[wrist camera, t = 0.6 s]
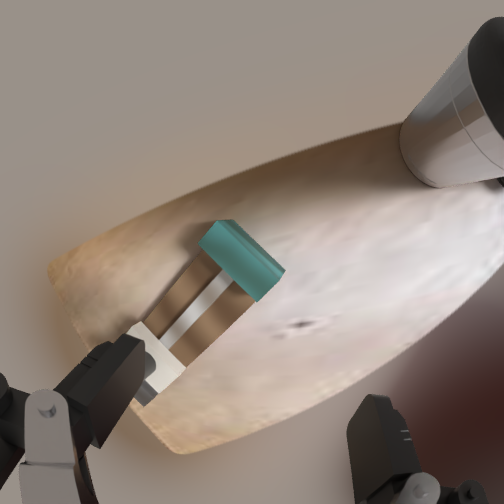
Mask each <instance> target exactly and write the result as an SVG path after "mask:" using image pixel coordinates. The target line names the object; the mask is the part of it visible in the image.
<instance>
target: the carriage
mask: <svg viewBox="0 0 504 504" xmlns="http://www.w3.org/2000/svg"><path fill="white" fill-rule="evenodd" d="M127 334H128V335H131V336H133V337H136V338H139V339H141V340H144V341H145V375H144V379H143V381H144V380H146V381H147V382H148V383H149V385H150V386H152V387H153V388H154V389H155V390H156V391H157V392H158V393H160V392H162V391H163V390H164V389H165V388H166V387H167V386H168V385H169V384H171V383H172V382H173V381H174V380H175V379H176V378H177V377H178V376H179V375H180V374H181V373H182V372H183V371H184V370H185V369H186V367H185V366H184V365H183V364H182V363H181V362H180V361H179V360H178V359H177V358H176V357H175V356H174V355H173V354H172V353H171V352H170V351H169V350H168V349H167V348H166V347H165V346H164V345H163V344H162V343H161V342H160V341H159V340H158V339H157V338H156V337H155V336H154V335H153V334H152V332H151V331H150V330H149V329H148V328H147V327H146V326H145V325H144V324H143V323H142V322H141V321H140V322H139V323H137V324H135V325H133V326H132V327H131V328H130V330H129V331H128V332H127Z"/></svg>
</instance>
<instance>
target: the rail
mask: <svg viewBox="0 0 504 504" xmlns="http://www.w3.org/2000/svg"><path fill="white" fill-rule="evenodd" d="M198 245H199V246H200V247H201V248H202V249H203V250H202V251H201V253H200V254H199V255H198V256H197V257H196V258H195V260H194V261H193V262H192V263H191V264H190V266H189V267H188V268H187V269H186V270H185V272H184V273H183V274H182V275H181V276H180V278H179V279H178V280H177V281H176V283H175V284H174V285H173V286H172V287H171V289H170V290H169V291H168V292H167V294H166V295H165V296H164V297H163V299H162V300H161V301H160V302H159V303H158V305H157V306H156V307H155V308H154V310H153V311H152V312H151V313H150V315H149V316H148V317H147V319H146V320H145V321H144V322H143V324H144V325H145V326H146V327H147V328H148V329H149V330H150V331H151V332H152V334H153V335H154V336H155V337H156V338H157V339H158V340H159V341H160V342H161V343H162V344H163V345H164V346H165V347H166V348H167V349H168V350H169V351H170V352H171V353H172V354H173V355H174V356H175V357H176V358H177V359H178V360H179V361H180V362H181V363H182V364H183V365H184V366H185V367H187V366H188V365H189V364H190V363H191V362H193V361H194V360H195V359H196V358H197V357H198V356H199V355H200V354H201V353H202V352H203V351H204V350H205V349H207V348H208V347H209V346H210V345H211V344H212V343H213V342H214V341H215V340H216V339H217V338H218V337H219V336H220V335H221V334H222V333H223V332H225V331H226V330H227V329H228V328H229V327H230V326H231V325H232V324H233V323H234V322H235V321H236V320H237V319H238V318H239V317H240V316H241V315H242V314H243V313H244V312H245V311H246V310H247V309H248V308H249V307H250V306H251V305H252V304H253V303H254V302H255V301H256V302H258V301H259V300H260V299H261V298H262V297H263V296H264V295H265V294H266V293H267V292H268V291H269V290H270V289H271V288H272V287H273V286H274V285H275V284H276V283H277V282H278V281H279V280H280V278H281V277H282V275H283V274H284V272H285V271H286V270H285V269H284V268H282V267H281V266H280V265H279V264H278V263H277V262H276V261H275V260H274V259H273V258H272V257H271V256H270V255H269V254H268V253H267V252H266V251H265V250H264V249H263V248H262V247H261V246H260V245H259V244H258V243H257V242H256V241H255V240H254V239H253V238H251V237H250V236H249V235H248V234H247V233H246V232H245V231H244V230H243V229H242V228H241V227H240V226H239V225H238V224H237V223H236V222H235V221H234V220H218V221H216V222H215V223H214V225H213V226H212V227H211V228H210V229H209V230H208V232H207V233H206V234H205V235H204V236H203V238H202V239H201V240H200V241H199V242H198ZM157 394H158V392H157V391H156V390H155V389H154V388H153V387H152V386H150V385H149V383H148V382H147V381H146V380H144V381H143V382H142V385H141V387H140V388H139V390H138V391H137V393H136V394H135V396H134V398H135V399H136V400H137V401H138V402H139V403H140V404H141V405H142V406H146V405H147V404H148V403H149V402H150V401H151V400H152V399H154V398H155V397H156V395H157Z"/></svg>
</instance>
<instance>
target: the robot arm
mask: <svg viewBox="0 0 504 504" xmlns="http://www.w3.org/2000/svg"><path fill="white" fill-rule="evenodd" d="M399 143H400V150H401V153H402V156H403V159H404V161H405V163H406V164H407V166H408V168H409V169H410V170H411V172H412V173H413V174H414V175H415V176H416V177H417V178H418V179H419V180H420V181H422V182H424V183H425V184H427V185H430V186H433V187H437V188H446V187H452V186H457V185H462V184H467V183H472V182H477V181H483V180H488V179H493V178H498V177H503V176H504V17H495V18H492V19H490V20H488V21H487V22H485V23H484V24H483V25H482V26H481V27H480V29H479V30H478V31H477V33H476V34H475V35H474V36H473V38H472V39H471V40H470V41H469V43H468V44H467V45H466V46H465V48H464V49H463V50H462V51H461V53H460V54H459V55H458V56H457V58H456V59H455V61H454V62H453V63H452V64H451V65H450V67H449V68H448V69H447V70H446V72H445V73H444V74H443V75H442V77H441V78H440V79H439V80H438V81H437V82H436V84H435V85H434V86H433V87H432V89H431V90H430V91H429V92H428V93H427V95H426V96H425V97H424V98H423V99H422V101H421V102H420V103H419V104H418V105H417V106H416V107H415V109H414V110H413V111H412V112H411V113H410V115H409V116H408V117H407V118H406V119H405V121H404V123H403V124H402V126H401V130H400V136H399ZM144 375H145V341H144V340H141V339H139V338H136V337H133V336H131V335H128V334H126V333H124V334H122V335H121V336H120V337H119V338H118V339H117V341H116V342H115V343H114V344H113V343H111V342H109V341H107V342H105V343H103V344H100V345H98V346H96V347H95V348H94V349H93V350H92V351H91V352H90V353H89V354H88V355H87V357H85V358H84V359H83V360H82V361H81V363H80V364H78V365H77V366H76V367H75V368H74V369H73V370H72V371H71V372H70V373H69V374H68V375H67V376H66V377H65V379H63V380H62V381H61V382H60V383H59V385H58V386H57V387H56V388H54V389H53V390H48V389H43V390H38V391H35V392H33V393H32V394H28V393H25V392H23V391H19V390H17V389H14V388H11V387H9V385H8V383H7V380H6V378H5V377H4V376H3V374H2V373H0V490H1V488H2V486H3V485H4V483H5V482H6V480H7V479H8V477H9V475H10V474H11V472H12V471H13V470H14V468H15V467H16V465H17V463H18V462H19V461H20V459H21V458H22V456H23V455H24V453H25V462H24V463H20V465H19V480H20V489H21V496H22V503H23V504H99V502H98V500H97V497H96V494H95V490H94V487H93V483H92V479H91V475H90V471H89V467H88V462H87V457H86V453H85V451H86V450H87V448H88V447H89V445H90V444H91V445H93V446H95V447H97V448H99V449H101V447H102V445H103V444H104V442H105V441H106V439H107V438H108V436H109V434H110V433H111V431H112V429H113V428H114V427H115V425H116V424H117V422H118V420H119V419H120V417H121V416H122V414H123V413H124V411H125V410H126V408H127V407H128V405H129V403H130V402H131V400H132V399H133V397H134V396H135V394H136V393H137V391H138V390H139V388H140V387H141V385H142V382H143V379H144ZM347 442H348V449H349V456H350V464H351V472H352V480H353V489H354V498H355V504H489V503H488V500H487V497H486V493H485V491H484V488H483V486H482V485H481V484H480V483H479V482H477V481H475V480H466V481H464V482H463V483H462V484H461V485H459V486H458V487H457V488H451V487H443V486H440V485H439V483H438V482H437V480H436V479H435V478H434V477H433V476H431V475H430V474H427V473H423V472H422V470H421V466H420V463H419V460H418V457H417V454H416V451H415V447H414V445H413V442H412V441H411V436H410V433H409V432H408V427H407V424H406V422H405V419H404V418H403V417H402V416H401V414H400V413H399V412H398V411H397V410H394V409H393V406H392V404H391V401H390V398H389V397H388V396H384V395H374V394H368V395H367V396H366V397H365V399H364V400H363V401H362V403H361V405H360V406H359V408H358V409H357V411H356V412H355V414H354V416H353V417H352V418H351V420H350V421H349V424H348V427H347Z"/></svg>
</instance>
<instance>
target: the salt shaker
mask: <svg viewBox="0 0 504 504" xmlns="http://www.w3.org/2000/svg"><path fill="white" fill-rule="evenodd" d="M497 179H498V181H499V183H500V184H501V185H502V186H503V187H504V176H503V177H498V178H497Z"/></svg>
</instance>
